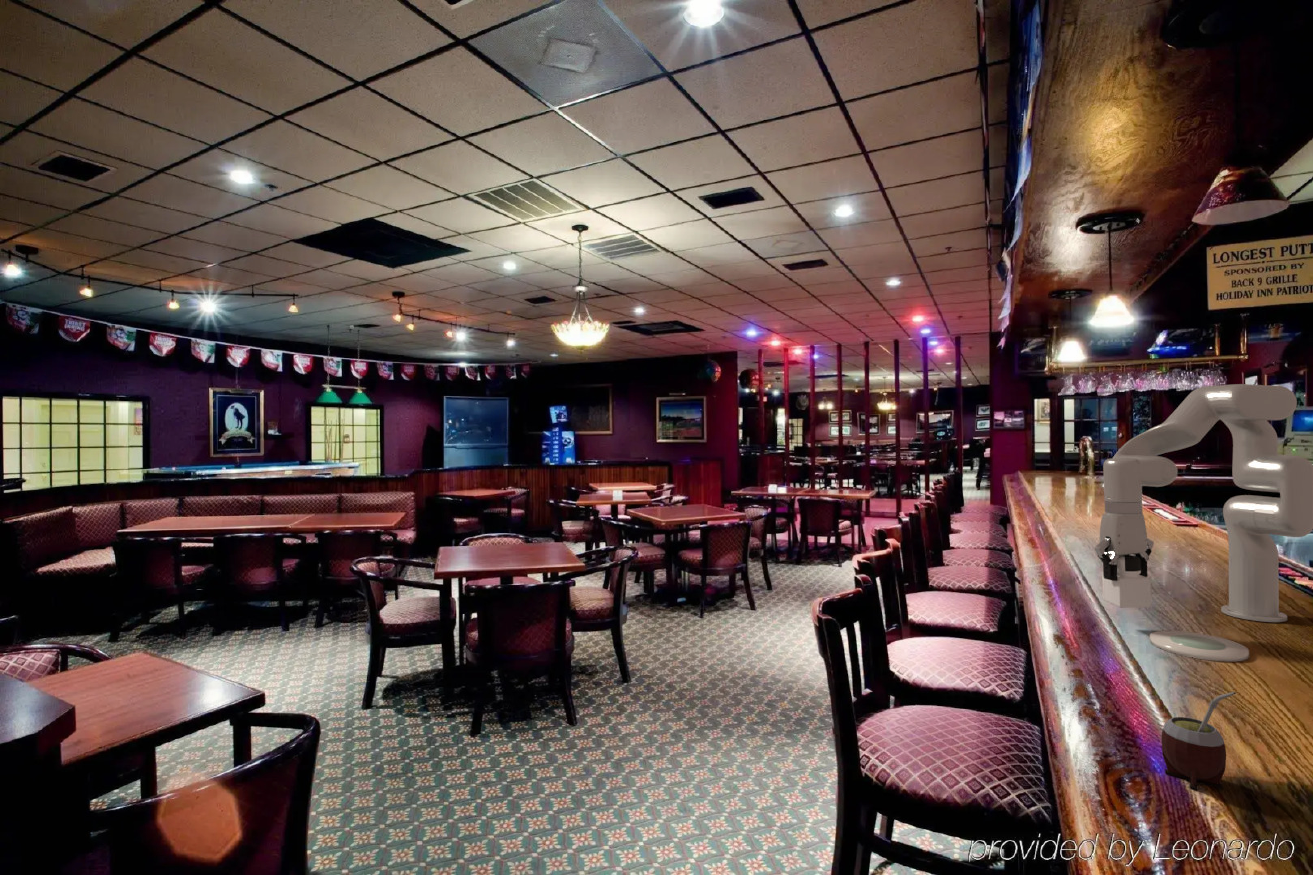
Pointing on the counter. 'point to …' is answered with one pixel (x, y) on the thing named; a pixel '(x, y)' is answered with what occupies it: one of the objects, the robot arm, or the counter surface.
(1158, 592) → the counter surface
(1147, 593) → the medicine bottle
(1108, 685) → the counter surface
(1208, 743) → the mate gourd
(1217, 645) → the plate
